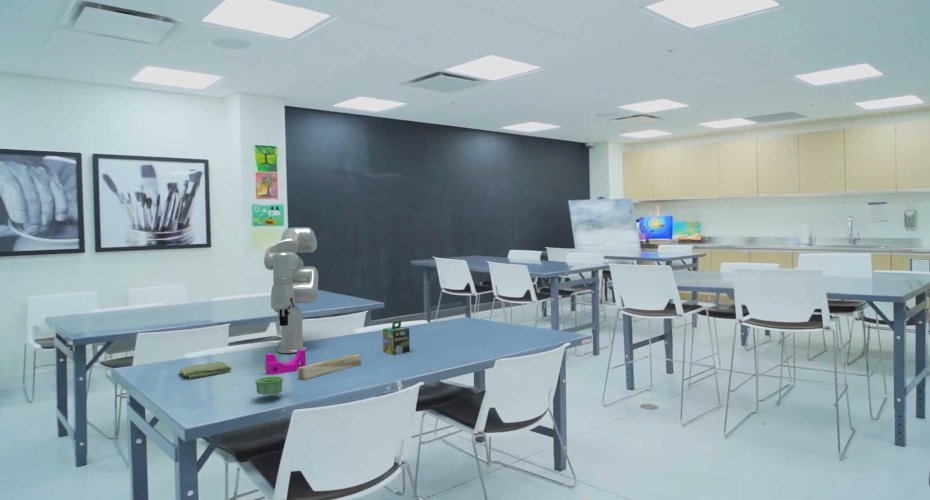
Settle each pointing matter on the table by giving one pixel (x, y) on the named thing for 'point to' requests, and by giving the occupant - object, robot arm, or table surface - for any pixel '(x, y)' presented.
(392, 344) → the chalk box
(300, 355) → the toy block
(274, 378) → the ramekin
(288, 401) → the table surface
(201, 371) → the washcloth
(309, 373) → the board
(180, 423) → the table surface
